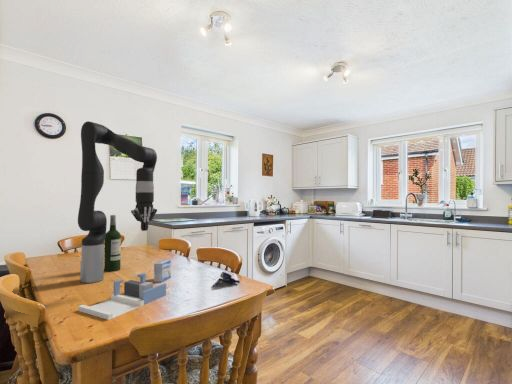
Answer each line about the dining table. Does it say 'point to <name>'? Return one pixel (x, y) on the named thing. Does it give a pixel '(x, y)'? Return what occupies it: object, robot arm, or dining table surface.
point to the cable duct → (124, 301)
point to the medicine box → (162, 271)
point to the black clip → (225, 280)
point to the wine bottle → (112, 247)
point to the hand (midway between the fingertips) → (144, 230)
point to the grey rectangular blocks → (136, 288)
